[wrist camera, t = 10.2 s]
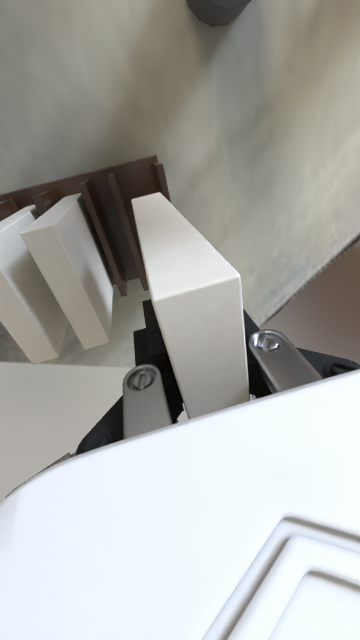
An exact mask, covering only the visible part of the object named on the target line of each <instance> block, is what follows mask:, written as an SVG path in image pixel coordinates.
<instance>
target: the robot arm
mask: <svg viewBox="0 0 360 640" xmlns="http://www.w3.org/2000/svg"><path fill="white" fill-rule="evenodd" d="M142 303H143V310H144V317H145V324H146V328H145V329H141V330H137V331H134V349H135V364H136V367H134V368H133V369H131V370H130V371H129V372H128V373H127V374H126V376H125V378H124V380H123V396H121V398H120V399H119V400H118V401H117V402H116V403H115V405H114V406H112V407H111V409H110V410H109V411H108V412H107V413H106V414H105V415H104V416H103V417H102V419H101V420H100V421H99V422H98V423H97V424H96V425H95V426H94V427H93V428H92V430H91V431H90V432H89V433H88V434H87V435H86V436H85V437H84V438H83V440H82V441H81V443H80V444H79V446H78V448H77V451H76V452H75V453H73V454H72V455H71V454H70V453H68V454H66V455H65V456H63V457H62V458H60V459H58V460H57V461H55V462H54V463H52V464H51V465H50V466H48V467H47V468H45V469H44V470H42V471H41V472H39V473H38V474H36V475H35V476H33V477H32V478H30V479H29V480H27V481H26V482H24V483H23V484H21V485H20V486H18V487H17V488H15V489H14V490H13V491H12V492H11V493H9V494H8V495H7V496H6V498H5V499H4V500H3V501H2V502H1V503H0V640H360V365H359V364H357V363H356V362H354V361H350V360H348V359H344V358H339V357H335V356H331V355H326V354H322V353H317V352H313V351H309V350H305V349H300V348H296V347H295V346H294V345H293V344H292V343H291V341H290V340H289V339H288V338H287V337H286V336H285V335H284V334H283V333H281V332H279V331H276V330H271V329H269V330H268V329H265V330H260V329H259V328H258V327H257V325H256V324H255V323H254V322H253V320H252V319H251V318H250V316H249V315H248V314H247V313H246V311H245V310H244V309H243V315H244V328H245V341H246V355H247V368H248V381H249V394H252V398H253V400H252V401H248V402H245V403H242V404H238V405H235V406H232V407H229V408H225V409H222V410H219V411H215V412H212V413H209V414H205V415H202V416H199V417H195V418H192V419H189V420H186V421H183V422H179V423H178V420H177V418H178V417H179V415H180V414H181V412H182V411H184V409H183V404H182V403H184V402H183V399H182V396H181V393H180V390H179V387H178V383H177V380H176V377H175V374H174V371H173V368H172V364H171V361H170V358H169V355H168V352H167V349H166V345H165V342H164V339H163V336H162V333H161V330H160V326H159V323H158V320H157V317H156V314H155V311H154V307H153V304H152V301H151V299H149V300H146V301H142Z"/></svg>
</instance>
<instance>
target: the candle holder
mask: <svg viewBox="0 0 360 640" xmlns="http://www.w3.org/2000/svg"><path fill="white" fill-rule="evenodd" d="M250 1H251V0H187V2H188V5H189V7H190V8H191V10H192V11H193V12H194V13H195V15H196V16H197V17H198V19H199V20H201V21H203V22H205V23H207V24H209V25H211V26H220V25H226V24H228V23H229V22H230V21H232V20H233V19H234V18H236V17H237V16H238V15H239V14H240V13H241V12H242V11H243V9H244V8H245V7H246V6H247V5H248V4H249V3H250Z"/></svg>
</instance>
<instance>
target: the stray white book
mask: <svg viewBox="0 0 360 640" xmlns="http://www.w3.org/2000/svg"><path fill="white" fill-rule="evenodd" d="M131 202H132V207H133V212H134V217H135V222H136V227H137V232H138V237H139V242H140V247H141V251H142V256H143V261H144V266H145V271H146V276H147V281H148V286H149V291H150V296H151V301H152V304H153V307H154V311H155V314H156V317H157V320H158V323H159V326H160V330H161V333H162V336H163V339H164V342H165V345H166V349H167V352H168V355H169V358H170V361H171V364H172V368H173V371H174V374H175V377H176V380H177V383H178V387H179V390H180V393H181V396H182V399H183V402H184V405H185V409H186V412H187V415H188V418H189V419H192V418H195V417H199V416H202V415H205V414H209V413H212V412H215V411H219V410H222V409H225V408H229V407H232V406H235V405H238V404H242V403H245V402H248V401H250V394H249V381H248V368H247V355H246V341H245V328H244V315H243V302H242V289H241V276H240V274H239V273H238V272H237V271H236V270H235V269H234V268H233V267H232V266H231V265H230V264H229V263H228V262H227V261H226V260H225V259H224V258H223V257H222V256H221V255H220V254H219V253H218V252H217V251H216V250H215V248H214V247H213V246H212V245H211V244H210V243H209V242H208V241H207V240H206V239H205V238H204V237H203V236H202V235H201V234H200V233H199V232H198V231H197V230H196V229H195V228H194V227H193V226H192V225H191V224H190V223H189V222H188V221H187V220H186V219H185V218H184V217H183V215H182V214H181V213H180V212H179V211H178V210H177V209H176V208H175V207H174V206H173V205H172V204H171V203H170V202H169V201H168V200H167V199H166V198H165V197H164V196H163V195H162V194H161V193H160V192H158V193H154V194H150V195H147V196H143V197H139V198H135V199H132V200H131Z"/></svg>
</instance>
